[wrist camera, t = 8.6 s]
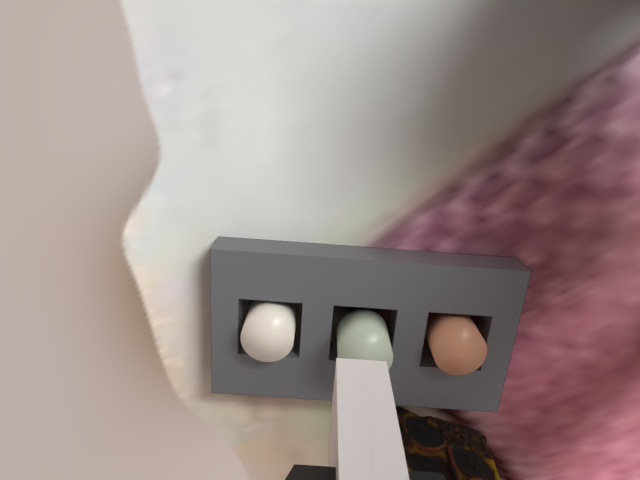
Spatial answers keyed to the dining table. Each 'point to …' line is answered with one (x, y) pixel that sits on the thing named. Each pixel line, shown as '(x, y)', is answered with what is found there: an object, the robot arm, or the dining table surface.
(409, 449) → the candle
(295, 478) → the robot arm
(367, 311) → the sage button
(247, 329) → the cream button
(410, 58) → the dining table surface
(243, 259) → the panel
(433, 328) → the terracotta button
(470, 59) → the dining table surface
